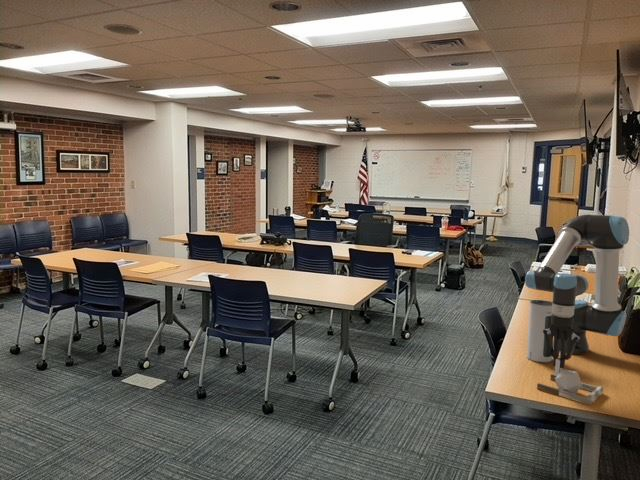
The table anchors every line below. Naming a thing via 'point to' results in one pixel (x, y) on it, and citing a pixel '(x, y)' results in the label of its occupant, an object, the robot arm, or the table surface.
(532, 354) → the speaker
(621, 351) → the table surface
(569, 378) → the die
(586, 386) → the grey brown u-shaped frame
